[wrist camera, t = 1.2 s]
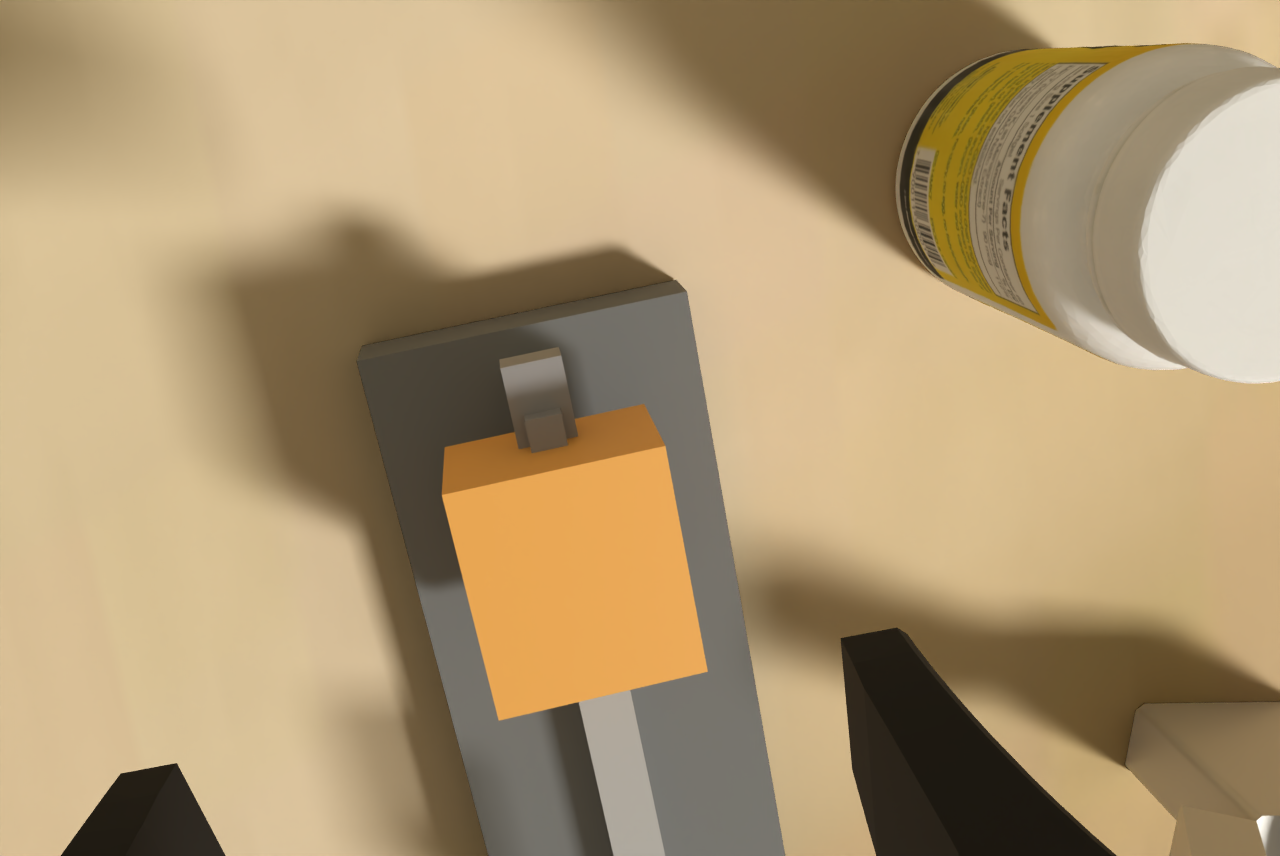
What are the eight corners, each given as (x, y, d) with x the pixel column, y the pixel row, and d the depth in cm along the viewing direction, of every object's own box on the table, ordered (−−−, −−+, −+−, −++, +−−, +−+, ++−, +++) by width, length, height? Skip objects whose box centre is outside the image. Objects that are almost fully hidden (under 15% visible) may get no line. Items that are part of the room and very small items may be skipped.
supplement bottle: (1173, 147, 24) (1533, 192, 16) (1020, 344, 24) (1290, 482, 16) (994, -8, 22) (1288, -43, 14) (839, 206, 23) (1035, 284, 15)
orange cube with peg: (683, 609, 22) (707, 671, 20) (495, 652, 22) (499, 720, 20) (629, 326, 21) (649, 359, 18) (425, 369, 20) (419, 408, 18)
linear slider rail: (788, 919, 28) (868, 1132, 22) (530, 984, 27) (546, 1219, 22) (675, 280, 23) (741, 349, 18) (362, 345, 23) (327, 438, 17)
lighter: (1303, 701, 28) (1616, 940, 20) (1288, 767, 28) (1587, 1026, 21) (1012, 705, 27) (1226, 959, 19) (1000, 774, 27) (1206, 1048, 20)
